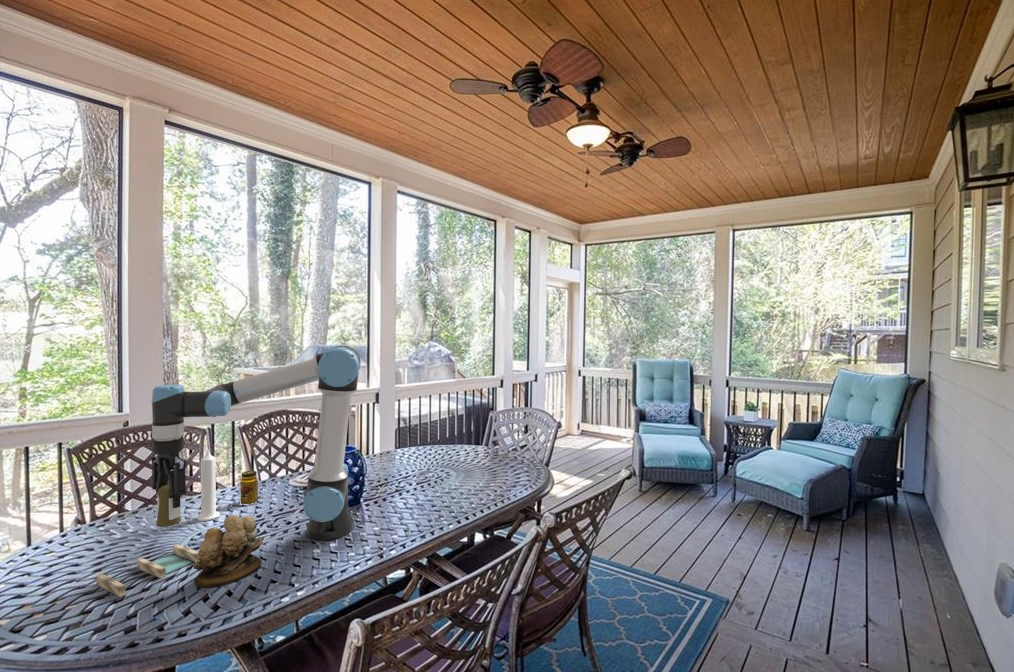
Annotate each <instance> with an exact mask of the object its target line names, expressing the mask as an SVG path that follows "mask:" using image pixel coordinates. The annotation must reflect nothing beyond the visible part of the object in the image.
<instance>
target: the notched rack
mask: <svg viewBox="0 0 1014 672" xmlns="http://www.w3.org/2000/svg"><path fill="white" fill-rule="evenodd" d="M172 550H173V551H172V552H173V553H172V554H170V555H168V556H166V557H162V558H161V559H158V560H155V561H150V560H147V559H145V558H143V557H141V558H138V559H137V560H136V561H137V562H136V565H137V566H136V567H137V568H136V569H138V570H141V571H143V572H145V573H148V574H150V575H152V576H154V577H156V578H159V579H164V578H166V577H167V576H166V575H168V574H171V573H174V572H175V571H177V570H178V571H179V570H180V569H183V568H185V567H187V566H189V565H191V564H193V563H196V562H198V561H200V560H199V559H198V555H199V554H198V552H199V551H198V550H194V549H191V548H188V547H187V546H184V545H181V544H178V543H176V544H174V545H173V546H172ZM95 579H96V586H98V587H100V588H102V589H104V590H106V591H108V592H110V593H112V594H113V595H116V596H117V597H120V598H122V597H123V596H125V595H126V584H124V583H121V582H120V581H118V580H116V579H113V578H112V577H110V576H108V575H105V574H104V573H100V574H97V575H96V578H95Z"/></svg>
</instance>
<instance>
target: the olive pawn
mask: <svg viewBox="0 0 1014 672" xmlns="http://www.w3.org/2000/svg"><path fill="white" fill-rule="evenodd" d="M169 496H171V494H170V487H169V484H167V485H165V486H162V487H161V488H159V490H158V497H159V498H160V503H159V510H158V515H156V517H157V518H156V525H155V526H156V527H158V528H165V527H172V526H175V525H177V524H180V523H181V522H182V516H181V515H180V517H178V518H175V519H172V520H169V498H168V497H169Z"/></svg>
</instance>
